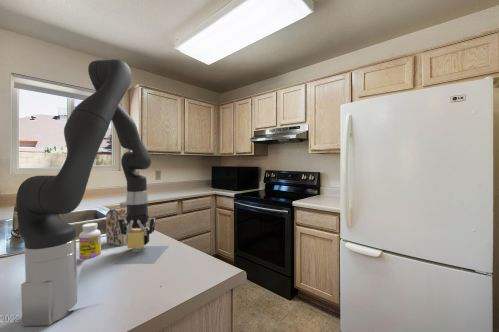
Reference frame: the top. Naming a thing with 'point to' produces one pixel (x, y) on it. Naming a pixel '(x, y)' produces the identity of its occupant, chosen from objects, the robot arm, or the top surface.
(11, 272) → the top surface
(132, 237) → the yellow cube
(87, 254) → the supplement bottle
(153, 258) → the plate
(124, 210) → the decorative jar
